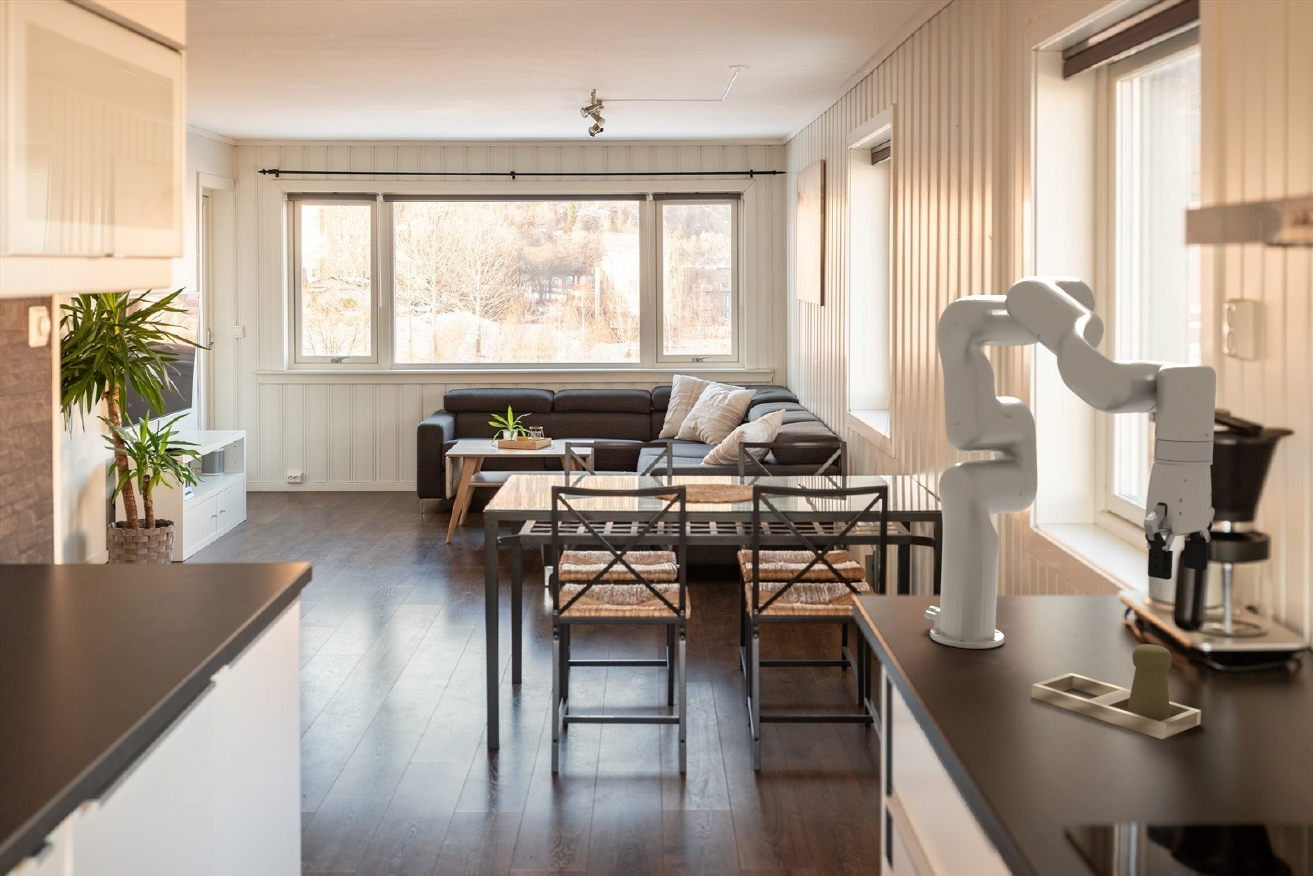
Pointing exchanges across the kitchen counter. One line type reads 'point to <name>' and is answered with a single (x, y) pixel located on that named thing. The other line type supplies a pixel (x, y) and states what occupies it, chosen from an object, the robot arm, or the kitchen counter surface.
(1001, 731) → the kitchen counter surface
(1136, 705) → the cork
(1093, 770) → the kitchen counter surface
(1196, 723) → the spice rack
